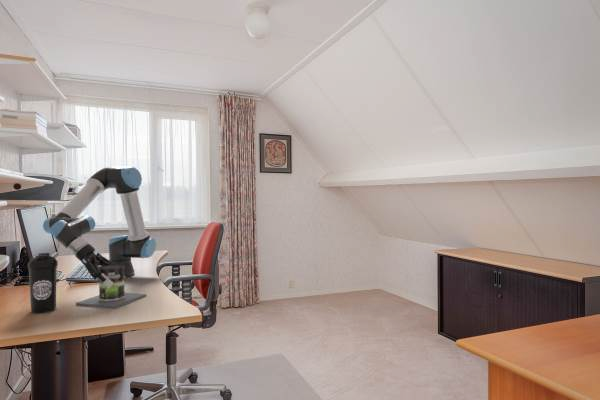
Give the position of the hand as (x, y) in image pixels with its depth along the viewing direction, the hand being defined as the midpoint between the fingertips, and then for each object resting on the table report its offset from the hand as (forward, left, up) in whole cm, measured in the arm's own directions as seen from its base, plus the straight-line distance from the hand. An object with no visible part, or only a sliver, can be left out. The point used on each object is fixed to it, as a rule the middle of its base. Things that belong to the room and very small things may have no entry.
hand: (117, 282), depth 172 cm
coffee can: (+1, -2, -7) cm, 8 cm away
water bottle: (+20, -19, -8) cm, 29 cm away
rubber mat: (+1, -2, -8) cm, 8 cm away
